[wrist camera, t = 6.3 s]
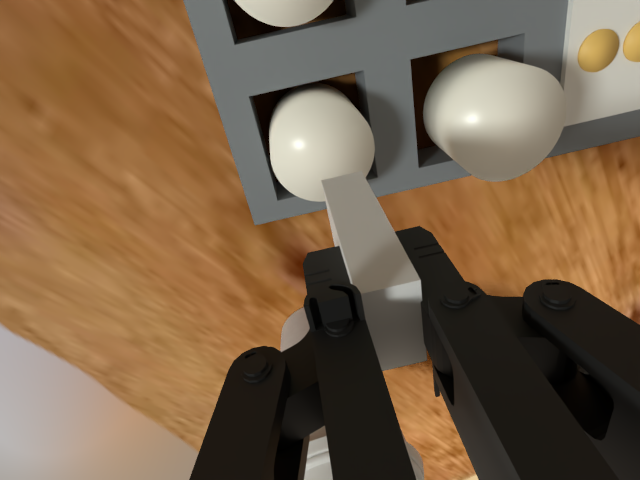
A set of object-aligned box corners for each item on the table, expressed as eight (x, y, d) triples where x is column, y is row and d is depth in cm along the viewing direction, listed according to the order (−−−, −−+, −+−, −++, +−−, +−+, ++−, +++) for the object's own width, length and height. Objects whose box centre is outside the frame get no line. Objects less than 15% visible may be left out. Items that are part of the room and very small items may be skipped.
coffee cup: (256, 369, 37) (253, 566, 24) (272, 282, 33) (278, 468, 20) (358, 374, 39) (406, 560, 26) (387, 293, 35) (460, 469, 22)
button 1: (258, 94, 25) (257, 113, 21) (350, 73, 25) (367, 87, 21) (281, 181, 28) (284, 211, 24) (363, 162, 28) (380, 189, 24)
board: (153, -127, 20) (133, -149, 17) (682, -248, 20) (759, -292, 17) (255, 205, 29) (254, 229, 26) (617, 121, 29) (659, 136, 26)
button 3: (419, 66, 23) (452, 81, 19) (520, 43, 23) (573, 53, 19) (426, 162, 26) (455, 192, 22) (515, 141, 26) (560, 167, 22)
